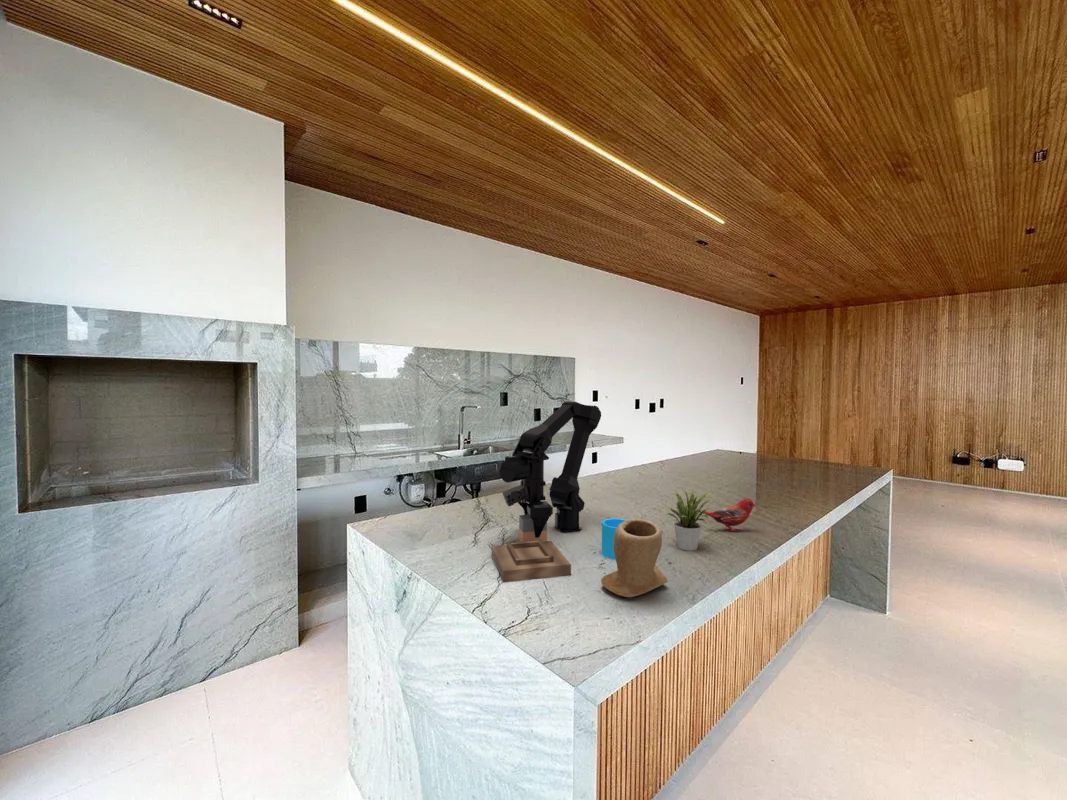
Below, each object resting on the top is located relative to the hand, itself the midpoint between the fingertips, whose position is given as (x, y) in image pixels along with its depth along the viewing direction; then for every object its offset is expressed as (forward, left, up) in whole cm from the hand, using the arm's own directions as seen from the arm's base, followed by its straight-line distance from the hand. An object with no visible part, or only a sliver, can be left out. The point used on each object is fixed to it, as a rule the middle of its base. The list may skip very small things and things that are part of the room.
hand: (532, 532), depth 130 cm
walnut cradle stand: (+5, +16, -2) cm, 17 cm away
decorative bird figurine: (-59, +5, -3) cm, 59 cm away
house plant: (-41, +15, -3) cm, 44 cm away
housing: (0, 0, -3) cm, 3 cm away
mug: (-21, +14, -3) cm, 25 cm away
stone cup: (-15, +34, -3) cm, 37 cm away
